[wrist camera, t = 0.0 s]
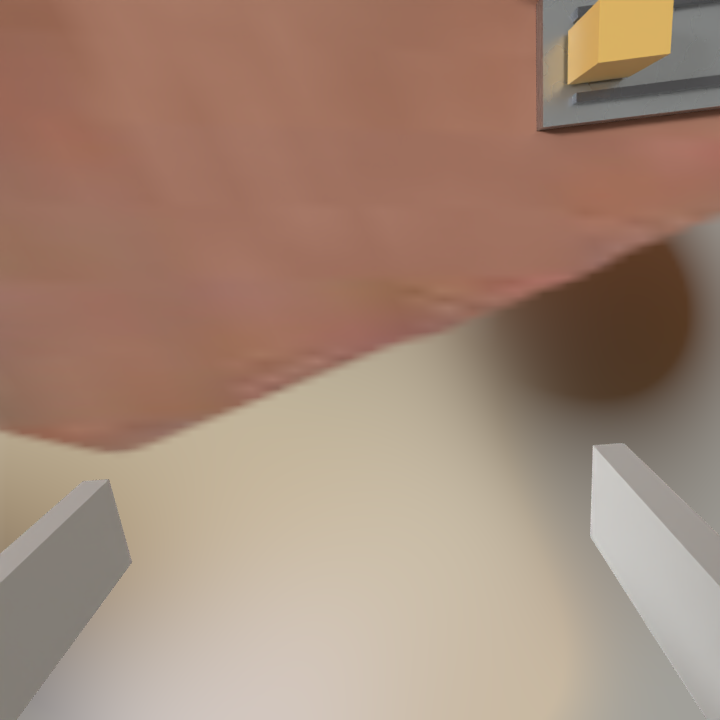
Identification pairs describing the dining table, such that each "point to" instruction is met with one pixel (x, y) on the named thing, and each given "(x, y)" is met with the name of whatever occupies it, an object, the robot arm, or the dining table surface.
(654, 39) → the yellow block
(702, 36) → the panel
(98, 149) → the dining table surface
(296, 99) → the dining table surface
